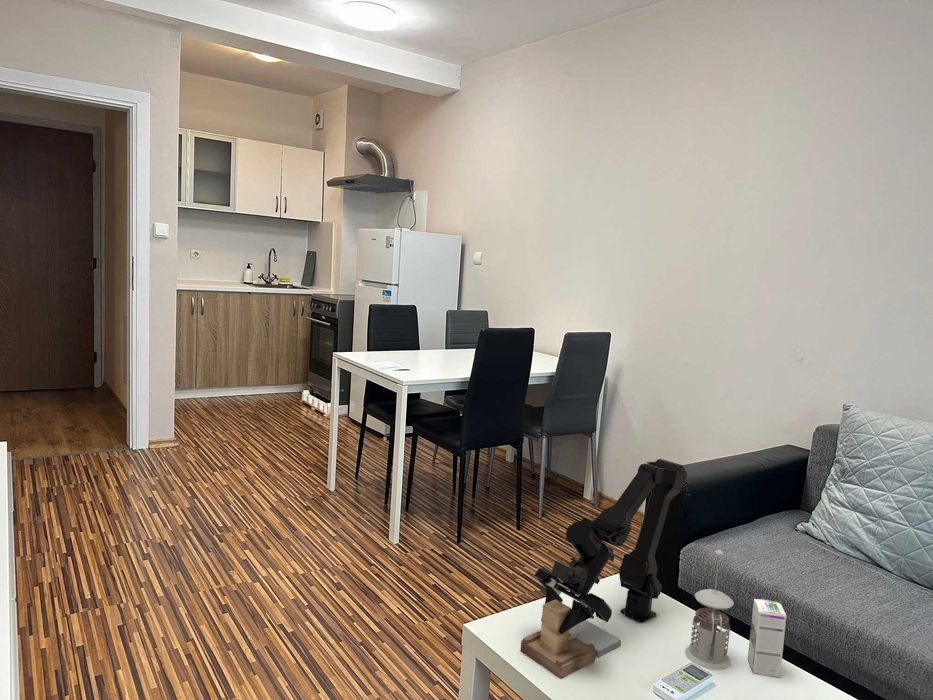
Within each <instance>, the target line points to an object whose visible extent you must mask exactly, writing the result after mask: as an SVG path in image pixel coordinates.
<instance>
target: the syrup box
mask: <svg viewBox="0 0 933 700" xmlns="http://www.w3.org/2000/svg"><path fill="white" fill-rule="evenodd" d="M752 606H753V607H752V615H751V626H750V632H749V633H750V634H749V641H748V642H749V643H748V653H747V660H748V664H749V666H750V669H751V672H752V673H753V674H757V675H760V676H767V677H774V678H781V671H782V670H781V668H782V661H783V652H784V644H785V643H784V641H785V634H786V633H785V631H786V623H787V614H786V612H785V609H784V608H783V605H782V604H781V602H779V601H774V600H769V599H757V598H754V599H753V605H752Z"/></svg>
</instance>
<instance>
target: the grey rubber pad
mask: <svg viewBox="0 0 933 700" xmlns="http://www.w3.org/2000/svg"><path fill="white" fill-rule="evenodd" d="M576 633H579V634H580V636H578V637H576V638H577V639H578V640H580V641H582V642H583V643H585V644H587V645H588V644H590V643H591V644H593V645H594V646H595V648H594V649H595V650H596V658H600V657H602V656H604V655H605V654H608V653H610V652H612V651H614V650H616V649H617V648H619V647H621V646H622V645H621V644H622V639H620V638H619V637H617V636H615V635H613V634H612V633H609V632H608V631H606V630H604V629H602V628H601V627H599V626H598V625H596V624H594V623H593V622H591V621H589V620H588V619H587V620H585V621H583V622H581V623H579V624H577V625H575V626H574V627H572V628H571V629H569V634H570V635H573V634H576Z"/></svg>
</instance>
